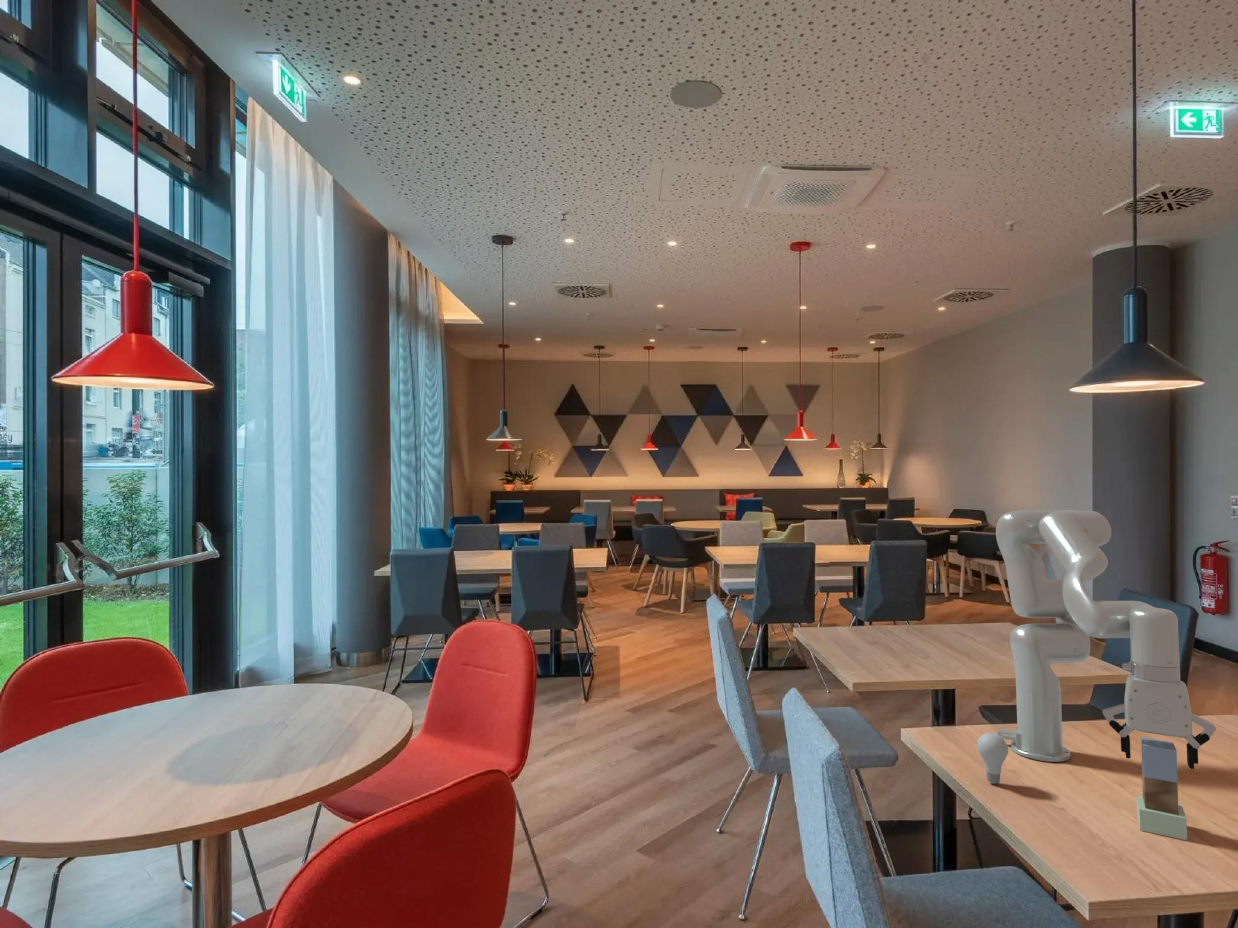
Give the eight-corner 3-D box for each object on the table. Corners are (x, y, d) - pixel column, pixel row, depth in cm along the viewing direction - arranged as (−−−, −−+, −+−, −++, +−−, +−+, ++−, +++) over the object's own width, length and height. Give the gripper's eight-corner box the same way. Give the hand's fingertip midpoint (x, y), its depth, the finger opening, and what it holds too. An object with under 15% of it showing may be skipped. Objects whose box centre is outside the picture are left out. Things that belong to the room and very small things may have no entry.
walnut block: (1145, 808, 132) (1144, 776, 132) (1143, 798, 136) (1141, 767, 136) (1178, 814, 129) (1177, 782, 129) (1175, 804, 133) (1174, 773, 133)
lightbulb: (1006, 779, 154) (1004, 730, 155) (1012, 791, 148) (1010, 739, 149) (976, 776, 156) (974, 727, 156) (980, 787, 150) (979, 736, 151)
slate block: (1144, 776, 132) (1143, 745, 132) (1141, 767, 136) (1140, 737, 136) (1177, 782, 129) (1176, 750, 129) (1174, 773, 133) (1172, 741, 133)
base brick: (1140, 830, 131) (1139, 809, 131) (1137, 815, 137) (1136, 795, 137) (1187, 840, 127) (1186, 818, 127) (1182, 824, 133) (1181, 803, 133)
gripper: (1101, 670, 135) (1104, 758, 134) (1217, 683, 125) (1221, 778, 125) (1100, 662, 141) (1103, 746, 140) (1210, 673, 131) (1214, 764, 131)
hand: (1158, 761), depth 132 cm, fingers open, 9 cm apart
